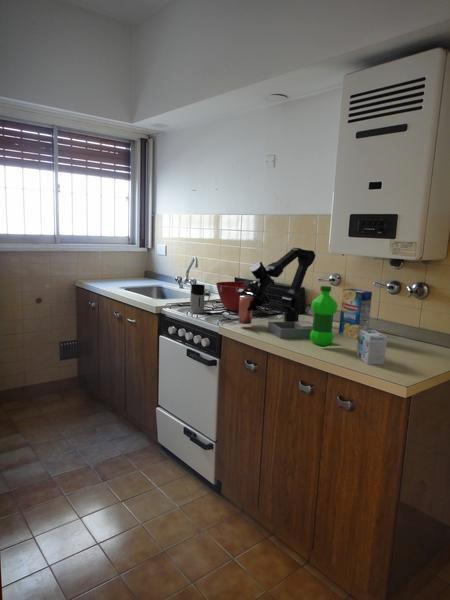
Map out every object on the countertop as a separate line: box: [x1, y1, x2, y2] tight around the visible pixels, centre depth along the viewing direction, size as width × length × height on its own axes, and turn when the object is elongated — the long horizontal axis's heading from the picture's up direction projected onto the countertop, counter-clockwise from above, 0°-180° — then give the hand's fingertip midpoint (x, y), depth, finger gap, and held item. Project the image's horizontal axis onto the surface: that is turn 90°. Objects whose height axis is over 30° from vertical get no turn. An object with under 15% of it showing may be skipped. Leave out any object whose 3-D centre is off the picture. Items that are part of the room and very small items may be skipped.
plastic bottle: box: [309, 285, 338, 348], centre depth 176 cm, size 10×10×25 cm
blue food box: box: [338, 288, 373, 341], centre depth 193 cm, size 7×11×22 cm, turn 34°
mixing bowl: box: [215, 281, 254, 312], centre depth 250 cm, size 28×28×15 cm
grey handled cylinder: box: [189, 283, 211, 314], centre depth 236 cm, size 9×14×15 cm, turn 46°
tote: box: [267, 321, 313, 340], centre depth 192 cm, size 20×15×5 cm
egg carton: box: [294, 321, 313, 329], centre depth 193 cm, size 6×9×5 cm
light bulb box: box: [356, 329, 388, 366], centre depth 159 cm, size 11×7×11 cm, turn 5°
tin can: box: [238, 295, 253, 325], centre depth 203 cm, size 6×6×13 cm
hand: (243, 309), depth 202 cm, fingers closed on tin can, 6 cm apart
